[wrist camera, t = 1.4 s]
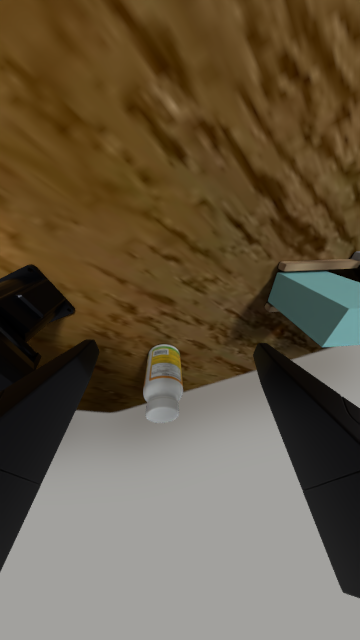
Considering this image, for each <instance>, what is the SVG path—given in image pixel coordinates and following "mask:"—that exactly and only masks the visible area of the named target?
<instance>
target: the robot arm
mask: <svg viewBox="0 0 360 640" xmlns="http://www.w3.org/2000/svg"><path fill="white" fill-rule="evenodd" d="M30 268H31V269H33V271H32V270H31V269H30ZM69 309H71V310H69ZM74 311H75V308H74V307H73V306H72V305H71V304H70V303H69V301H68V300H67V299H66V298H65V297H64V296H63V295H62V294H61V293H60V292H59V291H58V290H57V289H56V287H55V286H54V285H53V284H52V283H51V282H50V281H49V280H48V279H47V278H46V277H45V276H44V275H43V273H42V272H41V271H40V270H39V269H38V268H37V267H36V266H34V265H32V264H30V265H27V266H25V267H23V268H21V269H19V270H17V271H15V272H13V273H11V274H9V275H7V276H5V277H3V278H1V279H0V571H1V569H2V567H3V565H4V563H5V561H6V558H7V556H8V554H9V552H10V550H11V548H12V546H13V543H14V541H15V539H16V537H17V535H18V533H19V531H20V528H21V526H22V524H23V522H24V520H25V518H26V516H27V514H28V511H29V509H30V507H31V505H32V503H33V501H34V499H35V497H36V494H37V492H38V490H39V488H40V486H41V483H42V481H43V479H44V477H45V475H46V472H47V470H48V468H49V466H50V464H51V462H52V460H53V458H54V455H55V453H56V451H57V449H58V447H59V445H60V443H61V440H62V438H63V436H64V434H65V432H66V430H67V428H68V426H69V423H70V421H71V419H72V417H73V415H74V413H75V411H76V408H77V406H78V404H79V402H80V400H81V398H82V396H83V393H84V391H85V389H86V387H87V385H88V383H89V380H90V378H91V375H92V372H93V369H94V367H95V364H96V361H97V358H98V355H99V349H98V347H97V344H96V342H95V340H89V339H87V340H84V341H83V342H81V343H79V344H78V345H76V346H74V347H73V348H71V349H69V350H68V351H66V352H65V353H63V354H61V355H60V356H58V357H56V358H55V359H53V360H51V361H50V362H48V363H46V364H45V365H43V366H42V367H40V368H38V369H37V370H36V367H37V365H38V363H39V361H40V359H41V355H40V354H39V353H36V352H35V351H34V350H33V349H32V348H31V347H30V346H29V345H28V344H27V343H26V342H27V341H28V340H30V339H31V338H32V337H33V336H34V335H35V334H36V333H37V332H39V331H40V330H41V329H42V328H43V327H44V326H45V325H46V324H48V323H50V322H52V321H55V320H57V319H59V318H62V317H64V316H67V315H69V314H72V313H73V312H74ZM253 357H254V361H255V365H256V368H257V372H258V375H259V379H260V382H261V385H262V388H263V391H264V393H265V396H266V398H267V401H268V403H269V406H270V409H271V411H272V413H273V416H274V418H275V421H276V424H277V426H278V429H279V431H280V434H281V437H282V439H283V442H284V444H285V447H286V449H287V452H288V454H289V457H290V460H291V462H292V465H293V467H294V470H295V472H296V475H297V477H298V480H299V482H300V485H301V487H302V490H303V493H304V496H305V498H306V500H307V503H308V506H309V508H310V511H311V513H312V516H313V519H314V521H315V524H316V526H317V529H318V531H319V534H320V537H321V539H322V542H323V544H324V547H325V549H326V552H327V554H328V557H329V559H330V562H331V565H332V567H333V570H334V572H335V575H336V577H337V580H338V582H339V585H340V587H341V589H342V591H343V593H346V594H349V595H352V596H355V597H357V598H360V408H358V407H357V406H356V405H354V404H353V403H351V402H350V401H348V400H347V399H345V398H344V397H341V396H340V394H338V393H337V392H335V391H334V390H333V389H331V388H330V387H328V386H327V385H325V384H324V383H323V382H321V381H320V380H318V379H317V378H315V377H314V376H313V375H311V374H310V373H308V372H307V371H305V370H304V369H303V368H301V367H300V366H298V365H297V364H295V363H294V362H293V361H291V360H290V359H288V358H287V357H286V356H284V355H283V354H281V353H280V352H278V351H277V350H276V349H274V348H273V347H271V346H270V345H268V344H267V343H258V344H257V346H256V349H255V351H254V354H253Z"/></svg>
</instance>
